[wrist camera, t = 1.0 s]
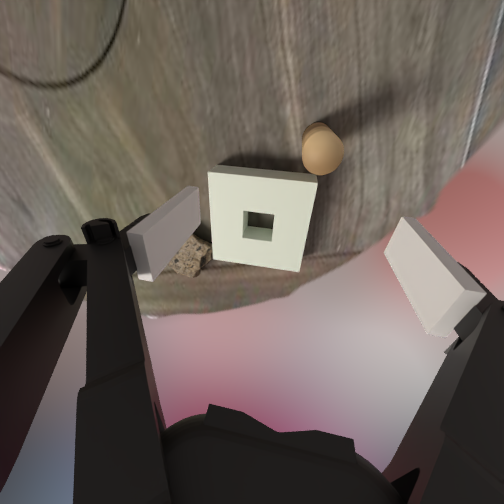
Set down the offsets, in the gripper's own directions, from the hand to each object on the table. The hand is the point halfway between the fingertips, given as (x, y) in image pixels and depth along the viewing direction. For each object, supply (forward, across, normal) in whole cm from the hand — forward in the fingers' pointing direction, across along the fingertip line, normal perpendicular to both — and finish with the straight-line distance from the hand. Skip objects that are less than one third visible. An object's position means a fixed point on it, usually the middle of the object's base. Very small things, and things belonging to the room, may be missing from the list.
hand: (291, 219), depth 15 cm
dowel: (+23, +2, +2) cm, 23 cm away
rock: (+24, -19, -20) cm, 37 cm away
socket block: (+23, -4, -11) cm, 26 cm away
